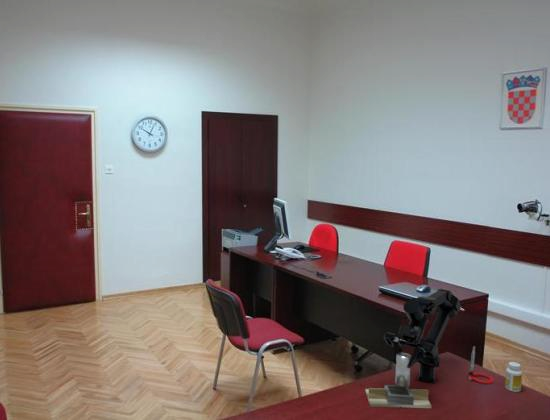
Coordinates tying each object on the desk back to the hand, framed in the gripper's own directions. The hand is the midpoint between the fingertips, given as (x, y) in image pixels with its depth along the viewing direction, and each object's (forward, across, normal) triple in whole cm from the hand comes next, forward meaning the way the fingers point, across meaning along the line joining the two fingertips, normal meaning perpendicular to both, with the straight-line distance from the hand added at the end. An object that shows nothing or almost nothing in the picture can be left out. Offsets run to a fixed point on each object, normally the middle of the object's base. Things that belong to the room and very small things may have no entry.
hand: (401, 365), depth 172 cm
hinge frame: (+9, -1, +9) cm, 13 cm away
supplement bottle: (-17, +28, +35) cm, 48 cm away
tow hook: (-17, +16, +35) cm, 42 cm away
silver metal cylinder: (+4, 0, +6) cm, 7 cm away
